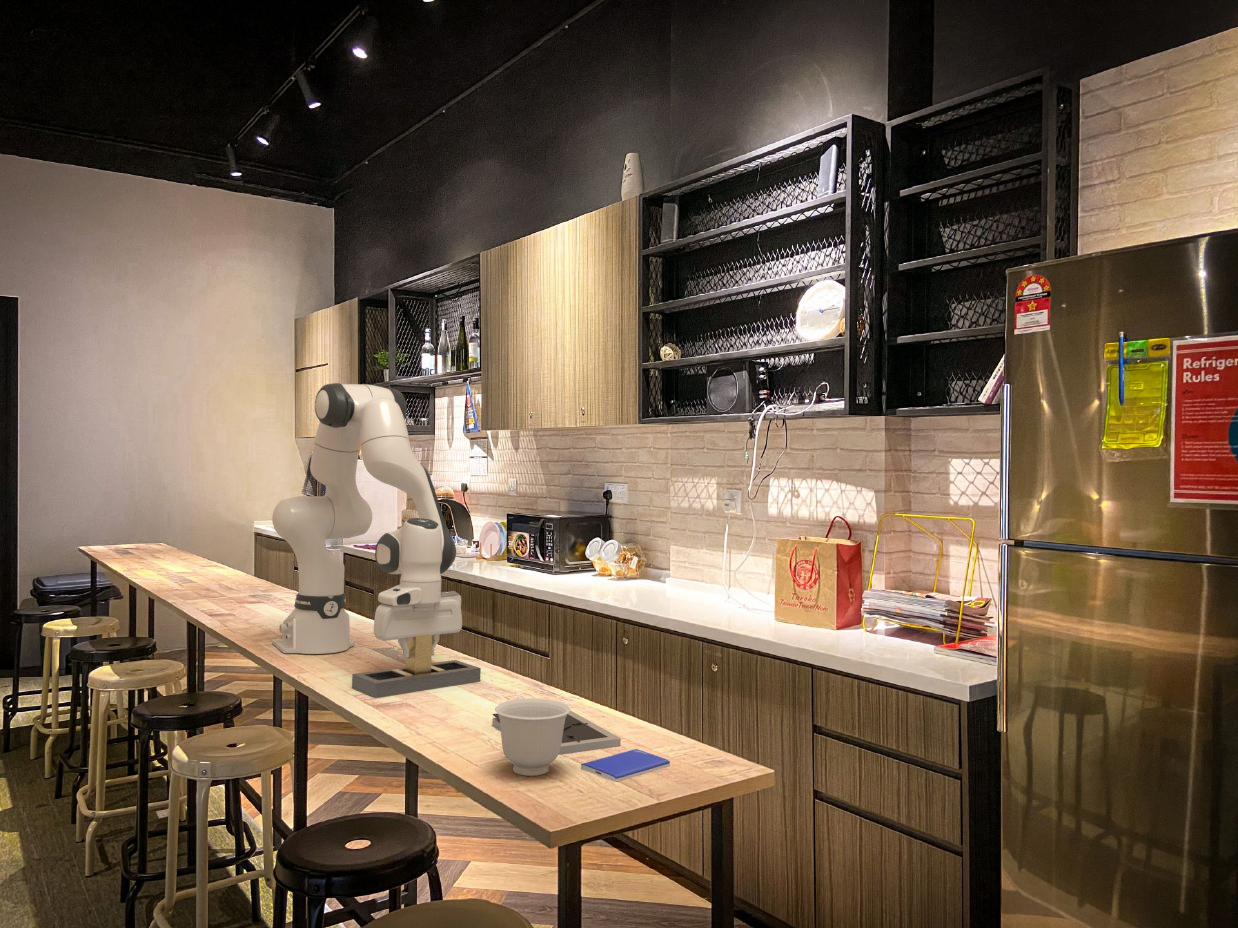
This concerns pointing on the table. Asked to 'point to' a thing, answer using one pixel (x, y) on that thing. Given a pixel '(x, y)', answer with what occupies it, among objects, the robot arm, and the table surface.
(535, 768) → the teacup
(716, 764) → the table surface
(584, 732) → the picture frame
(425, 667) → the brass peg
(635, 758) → the hard drive
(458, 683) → the grey compartment tray
